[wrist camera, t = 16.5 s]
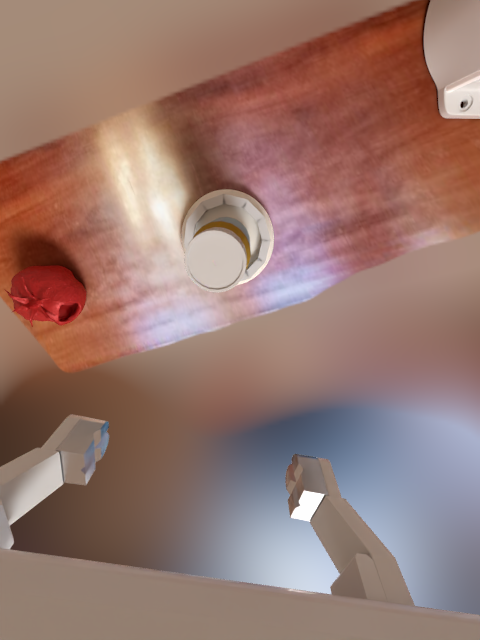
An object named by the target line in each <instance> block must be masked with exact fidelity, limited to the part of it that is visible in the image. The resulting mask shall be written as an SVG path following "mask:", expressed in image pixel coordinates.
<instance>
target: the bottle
mask: <svg viewBox="0 0 480 640" xmlns="http://www.w3.org/2000/svg"><path fill="white" fill-rule="evenodd" d="M250 257H251V251H250V237H249V234H248V231H247V229H246V228H245V226H244V225H243V224H242V223H241V222H239V221H238V220H236V219H234V218H230V217H221V218H218V219H215V220H213V221H211V222H210V223H208V224H206V225H204V226H202V227H201V228H200V229H199V230H198V231H197V232H196V233H195V235H194V237H193V239H192V240H191V241H190V242H189V245H188V246H187V248H186V251H185V258H184V263H185V268H186V271H187V274H188V276H189V277H190V279H191V280H192V281H193V282H194V283H195V284H196V285H197V286H198V287H200V288H202V289H204V290H206V291H209V292H224V291H227V290H230V289H232V288H233V287H235V286H236V285H237V284H238V283H239V282H240V281H241V279H242V277H243V276H244V273H245V270H246V269H247V267H248V265H249V261H250Z"/></svg>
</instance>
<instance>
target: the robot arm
mask: <svg viewBox="0 0 480 640" xmlns="http://www.w3.org/2000/svg"><path fill="white" fill-rule="evenodd" d="M424 53H425V59H426V63H427V66H428V69H429V72H430V74H431V76H432V78H433V80H434V82H435V84H436V86H437V89H438V105H439V111H440V114H441V116H442V117H444V118H465V119H480V0H431V1H430V4H429V7H428V11H427V15H426V20H425V27H424ZM461 102H463V107H462V108H461V106H460V104H461ZM108 428H109V422H107V421H102V420H97V419H92V418H88V417H82V416H77V415H72V414H71V415H70V416H68V417H67V418H66V419H65V420H64V421H63V423H62V424H61V425H60V426H59V427H58V429H57V430H56V431H55V432H54V433H53V434H52V436H51V437H50V438H49V439H48V440H47V442H46V443H45V444H44V445H43V446H42V447H41V448H36V449H34V450H32V451H30V452H28V453H26V454H24V455H22V456H21V457H18V458H17V459H15V460H13V461H11V462H9V463H7V464H5V465H3V466H2V467H0V640H480V615H474V614H468V613H460V612H453V611H446V610H439V609H432V608H425V607H417V606H415V605H414V603H413V600H412V598H411V596H410V593H409V591H408V588H407V586H406V583H405V581H404V579H403V576H402V574H401V571H400V569H399V566H398V564H397V562H396V559H395V557H394V556H393V555H392V554H391V553H390V551H389V550H388V549H387V548H386V547H385V546H384V544H383V543H382V542H381V541H380V540H379V538H378V537H377V536H376V535H375V534H374V533H373V531H372V530H371V529H370V528H369V527H368V525H367V524H366V523H365V522H364V521H363V520H362V518H361V517H360V516H359V515H358V514H357V512H356V511H355V510H354V509H353V508H352V506H351V505H350V504H349V503H348V502H347V501H346V499H343V498H341V495H340V491H339V488H338V485H337V483H336V479H335V476H334V473H333V470H332V467H331V464H330V461H329V460H328V459H321V458H316V457H312V456H305V455H299V454H294V455H293V457H292V464H291V465H289V466H288V469H287V471H286V489H287V491H288V492H289V494H290V497H289V499H288V504H289V511H290V517H291V518H295V519H300V520H306V521H310V523H311V525H312V527H313V529H314V530H315V532H316V534H317V536H318V537H319V539H320V541H321V542H322V544H323V546H324V548H325V549H326V551H327V553H328V554H329V556H330V558H331V560H332V561H333V563H334V565H335V566H336V568H337V570H338V572H339V573H340V575H339V576H338V577H337V579H336V580H335V581H334V583H333V584H332V586H331V592H332V594H324V593H317V592H310V591H303V590H296V589H289V588H281V587H274V586H267V585H260V584H253V583H245V582H238V581H231V580H224V579H217V578H210V577H203V576H195V575H189V574H181V573H174V572H167V571H160V570H153V569H146V568H139V567H131V566H124V565H116V564H110V563H103V562H95V561H88V560H80V559H74V558H66V557H60V556H52V555H45V554H37V553H31V552H23V551H16V550H9V549H10V548H11V546H12V545H13V543H14V539H13V535H12V532H11V529H10V525H11V524H12V523H13V522H15V521H16V520H17V519H19V518H20V517H21V516H23V515H24V514H25V513H26V512H27V511H29V510H30V509H32V508H33V507H34V506H35V505H37V504H38V503H39V502H41V501H42V500H43V499H44V498H46V497H47V496H48V495H49V494H51V493H52V492H53V491H55V490H56V489H57V488H59V487H60V486H61V485H62V484H63V482H64V483H73V484H81V485H86V484H87V483H88V481H89V479H90V477H91V476H92V474H93V472H94V470H95V462H97V461H98V460H100V459H101V458H102V456H103V455H104V453H105V451H106V448H107V445H108V441H109V434H108V433H107V432H106V431H107V430H108Z"/></svg>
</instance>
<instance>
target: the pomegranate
mask: <svg viewBox="0 0 480 640" xmlns="http://www.w3.org/2000/svg"><path fill="white" fill-rule="evenodd" d="M11 282H12V287H11V294H10V293H9V292H8V291H6V290H5V291H6V292H7V293H8V295H9V296H10V297H11V298H12V300H13V303H14V309H15V310H14V311H16V312H17V313H18V314H20V315H21V316H23V317H24V318H25V319H27V320H30V323H31V325H32V320H38V321H52V322H55V323H57V324H58V325H64V324H67V323H70V322H71V321H73V320H74V319H75V318H76V317H77V316H78V315H79V314H80V313H81V312H82V310H83V308H84V305H85V302H86V291H85V288H84V286H83V284H82V283H80V282H79V281H78V280H77V279H75V277H74V275H73V273H72V272H71V271H70V270H69V269H67V268H65V267H63V266H56V265H52V266H51V265H49V266H31V267H28V268H26V269H24V270H22V271H20V272H19V273H17V274H16V275H15V276H14V277H13V279H12V281H11ZM14 311H12V312H14ZM32 327H33V326H32Z"/></svg>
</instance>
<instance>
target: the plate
mask: <svg viewBox="0 0 480 640" xmlns="http://www.w3.org/2000/svg"><path fill="white" fill-rule="evenodd" d="M221 217H230V218H234V219H236V220H238V221H239V222H241V223H242V224H243V225H244V226H245V228H246V229H247V231H248V234H249V237H250V251H251V257H250V261H249V265H248V267H247V269H246V270H245V273H244V276H243V277H242V279H241V281H240V282H239V283H238V284H237V285H239V284H243V283H245V282H248V281H250V280H251V279H253V278H254V277H256V276H257V275H258V274H259V273H260V272H261V271H262V270H263V269H264V268H265V266H266V265H267V263H268V261H269V259H270V257H271V254H272V251H273V246H274V232H273V227H272V223H271V220H270V218H269V216H268V214H267V212H266V211H265V209H264V208H263V207H262V206H261V204H260V203H259V202H258V201H256V200H255V199H254V198H252V197H251V196H249V195H248V194H245V193H243V192H240V191H237V190H231V189H222V190H216V191H213V192H210V193H208V194H206V195H204V196H202V197H201V198H200V199H198V200H197V201H196V202H195V203H194V204H193V205H192V207H191V208H190V209H189V211H188V212H187V215H186V217H185V219H184V222H183V226H182V234H181V239H182V247H183V251H184V254H185V251H186V248H187V246H188V245H189V242H190V241H191V240H192V239H193V237H194V235H195V233H196V232H197V231H198V230H199V229H200V228H201V227H202V226H204V225H206V224H208V223H210V222H211V221H213V220H215V219H218V218H221Z"/></svg>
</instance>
